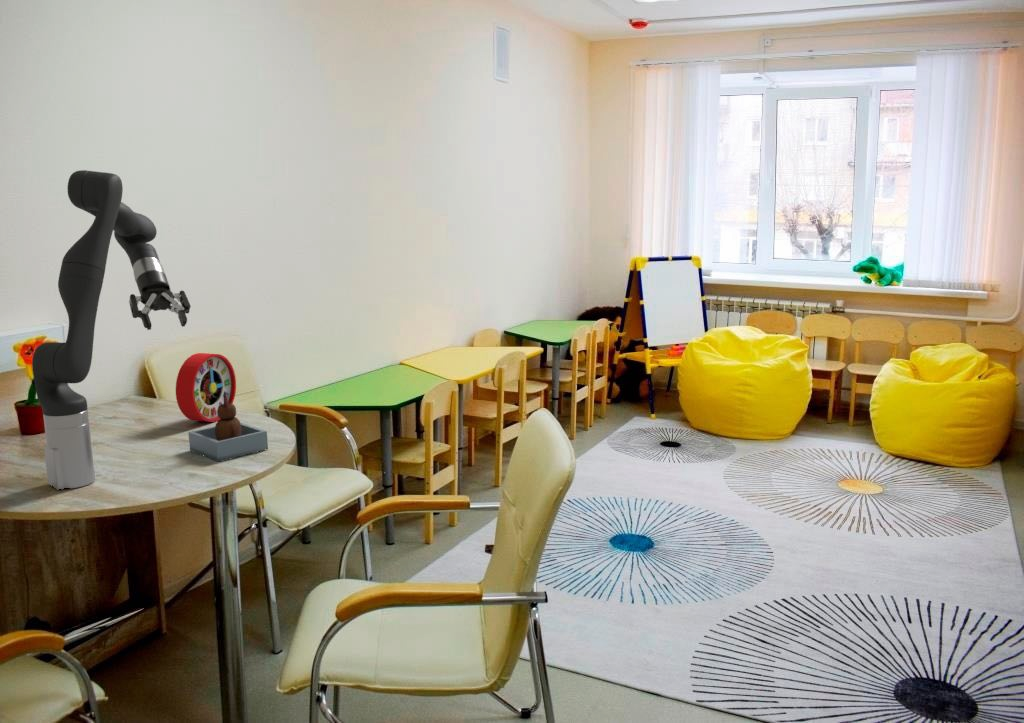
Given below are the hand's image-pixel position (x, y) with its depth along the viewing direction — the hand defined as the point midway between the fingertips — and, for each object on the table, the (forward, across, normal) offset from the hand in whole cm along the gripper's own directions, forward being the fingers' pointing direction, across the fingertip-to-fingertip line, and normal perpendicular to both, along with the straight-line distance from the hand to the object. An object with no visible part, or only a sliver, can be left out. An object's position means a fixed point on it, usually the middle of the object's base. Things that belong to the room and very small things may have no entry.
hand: (167, 326), depth 229 cm
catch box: (+30, +10, +16) cm, 36 cm away
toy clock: (+6, +16, +41) cm, 44 cm away
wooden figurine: (+30, +10, +16) cm, 35 cm away
